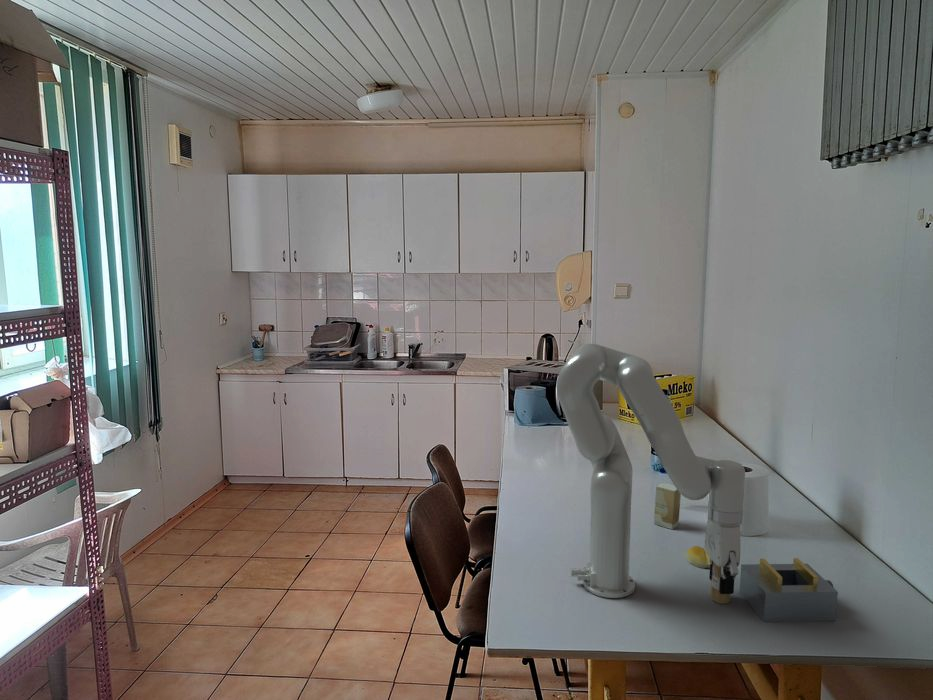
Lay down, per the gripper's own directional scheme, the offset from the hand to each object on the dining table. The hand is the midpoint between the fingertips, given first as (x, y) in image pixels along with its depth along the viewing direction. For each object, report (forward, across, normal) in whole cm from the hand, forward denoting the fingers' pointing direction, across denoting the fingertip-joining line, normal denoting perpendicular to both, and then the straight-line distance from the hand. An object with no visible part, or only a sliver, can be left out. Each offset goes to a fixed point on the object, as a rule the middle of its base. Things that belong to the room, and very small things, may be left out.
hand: (721, 585), depth 155 cm
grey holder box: (+3, +3, +14) cm, 15 cm away
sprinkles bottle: (+4, 0, 0) cm, 4 cm away
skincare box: (+4, -42, 0) cm, 42 cm away
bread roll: (+4, -19, +3) cm, 20 cm away
